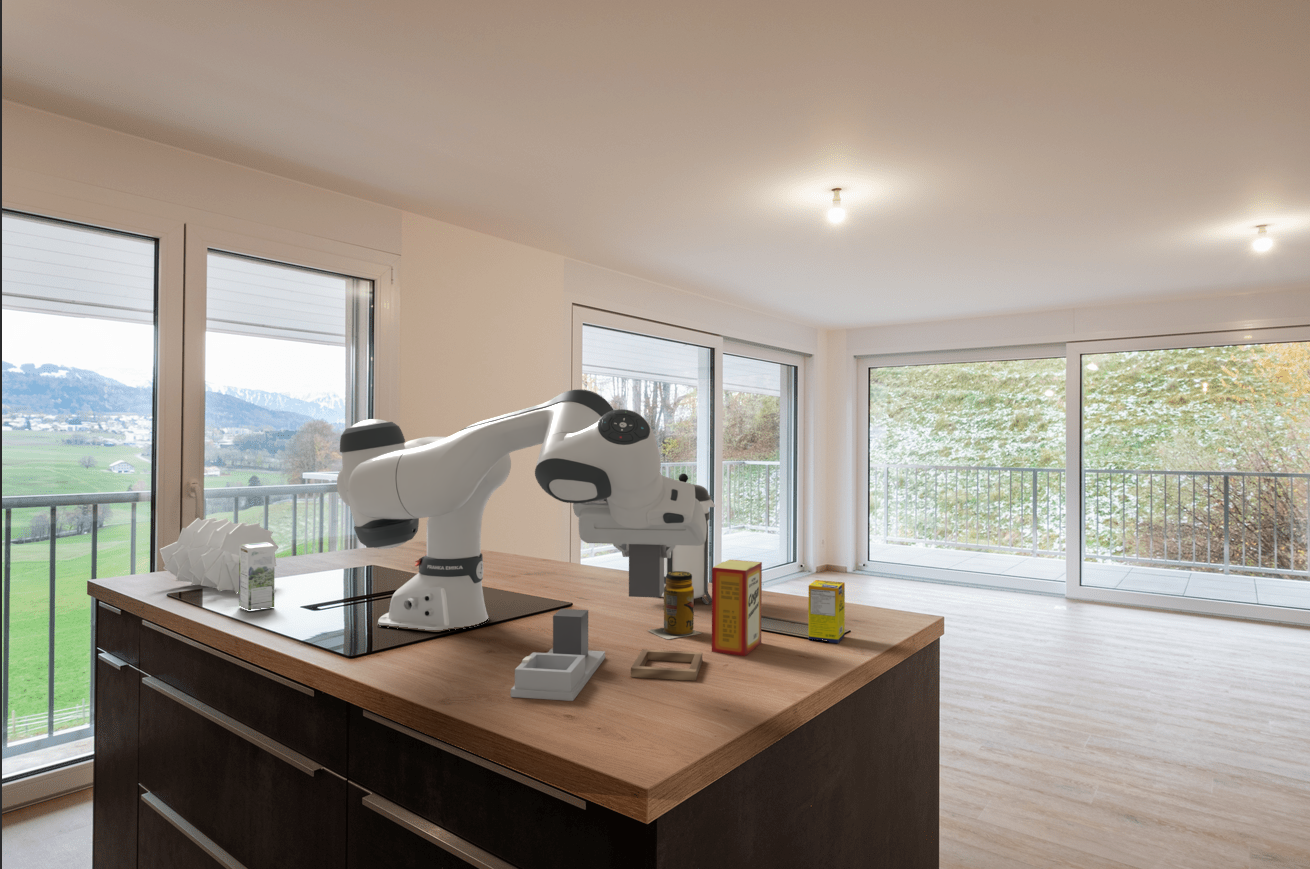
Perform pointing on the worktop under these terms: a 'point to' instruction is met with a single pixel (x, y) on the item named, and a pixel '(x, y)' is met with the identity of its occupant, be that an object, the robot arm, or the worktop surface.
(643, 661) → the holder frame
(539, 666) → the tray and post stand
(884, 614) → the worktop surface
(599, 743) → the worktop surface
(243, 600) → the syrup box
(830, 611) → the supplement box
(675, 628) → the condiment
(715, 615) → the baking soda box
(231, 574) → the spiral staircase
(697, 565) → the coffee press
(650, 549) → the dark grey block
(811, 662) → the worktop surface
